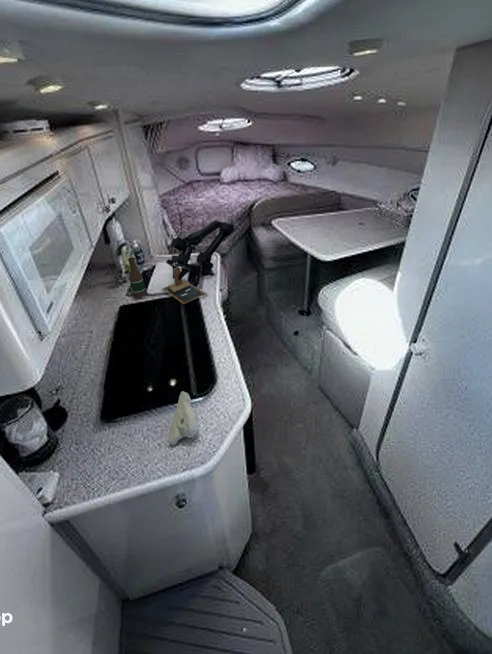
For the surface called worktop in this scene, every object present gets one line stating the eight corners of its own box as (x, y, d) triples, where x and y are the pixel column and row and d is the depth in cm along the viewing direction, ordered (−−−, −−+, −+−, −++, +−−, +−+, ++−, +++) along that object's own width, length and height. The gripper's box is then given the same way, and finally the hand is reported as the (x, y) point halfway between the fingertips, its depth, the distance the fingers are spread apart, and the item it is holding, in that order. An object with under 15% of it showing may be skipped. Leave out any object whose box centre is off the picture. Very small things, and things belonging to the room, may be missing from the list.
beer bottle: (135, 292, 197) (126, 255, 186) (148, 292, 197) (140, 255, 185) (131, 299, 190) (121, 261, 179) (144, 299, 190) (135, 261, 178)
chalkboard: (162, 290, 198) (162, 288, 197) (184, 281, 206) (184, 279, 206) (183, 306, 182) (183, 304, 181) (206, 295, 190) (206, 293, 189)
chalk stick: (185, 291, 193) (185, 290, 193) (189, 288, 195) (189, 288, 195) (186, 291, 193) (185, 291, 192) (190, 289, 195) (190, 288, 195)
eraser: (168, 289, 195) (165, 270, 189) (184, 282, 201) (182, 263, 195) (173, 293, 191) (170, 273, 185) (190, 286, 197) (187, 267, 191)
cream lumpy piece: (192, 456, 107) (215, 412, 110) (173, 451, 104) (197, 405, 107) (176, 434, 120) (196, 395, 123) (158, 428, 116) (180, 388, 120)
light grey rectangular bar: (181, 295, 189) (180, 295, 189) (186, 293, 190) (186, 293, 190) (181, 296, 188) (181, 295, 188) (187, 294, 190) (187, 293, 190)
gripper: (165, 246, 192) (155, 271, 189) (190, 251, 184) (180, 278, 181) (176, 253, 202) (167, 277, 199) (201, 259, 193) (191, 284, 190)
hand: (176, 279), depth 192 cm, fingers closed on eraser, 4 cm apart
